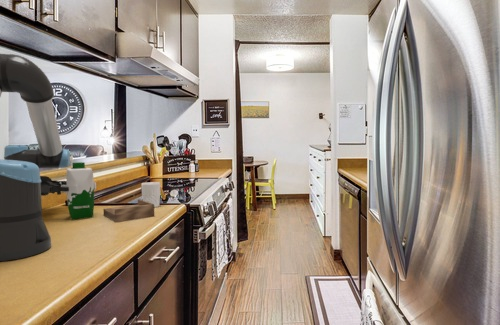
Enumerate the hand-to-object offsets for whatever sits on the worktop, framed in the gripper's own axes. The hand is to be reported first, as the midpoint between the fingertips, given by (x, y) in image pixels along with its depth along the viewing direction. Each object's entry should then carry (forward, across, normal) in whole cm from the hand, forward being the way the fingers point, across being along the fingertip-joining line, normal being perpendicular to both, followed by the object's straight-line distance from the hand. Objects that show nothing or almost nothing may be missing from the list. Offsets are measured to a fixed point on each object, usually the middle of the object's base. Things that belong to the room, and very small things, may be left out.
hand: (86, 187), depth 119 cm
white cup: (+12, -24, -11) cm, 29 cm away
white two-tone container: (-3, 0, -11) cm, 12 cm away
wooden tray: (+13, -6, -11) cm, 18 cm away
